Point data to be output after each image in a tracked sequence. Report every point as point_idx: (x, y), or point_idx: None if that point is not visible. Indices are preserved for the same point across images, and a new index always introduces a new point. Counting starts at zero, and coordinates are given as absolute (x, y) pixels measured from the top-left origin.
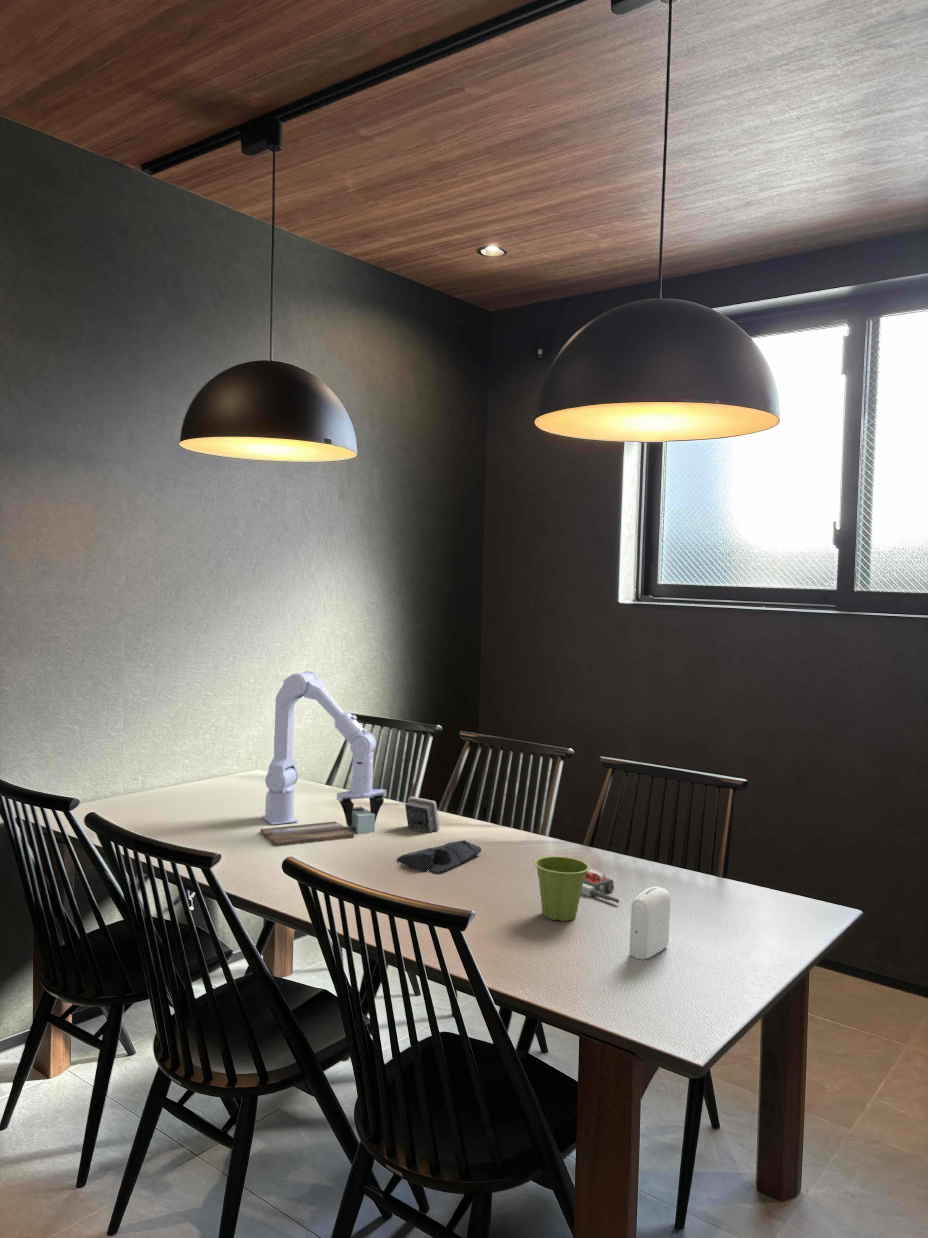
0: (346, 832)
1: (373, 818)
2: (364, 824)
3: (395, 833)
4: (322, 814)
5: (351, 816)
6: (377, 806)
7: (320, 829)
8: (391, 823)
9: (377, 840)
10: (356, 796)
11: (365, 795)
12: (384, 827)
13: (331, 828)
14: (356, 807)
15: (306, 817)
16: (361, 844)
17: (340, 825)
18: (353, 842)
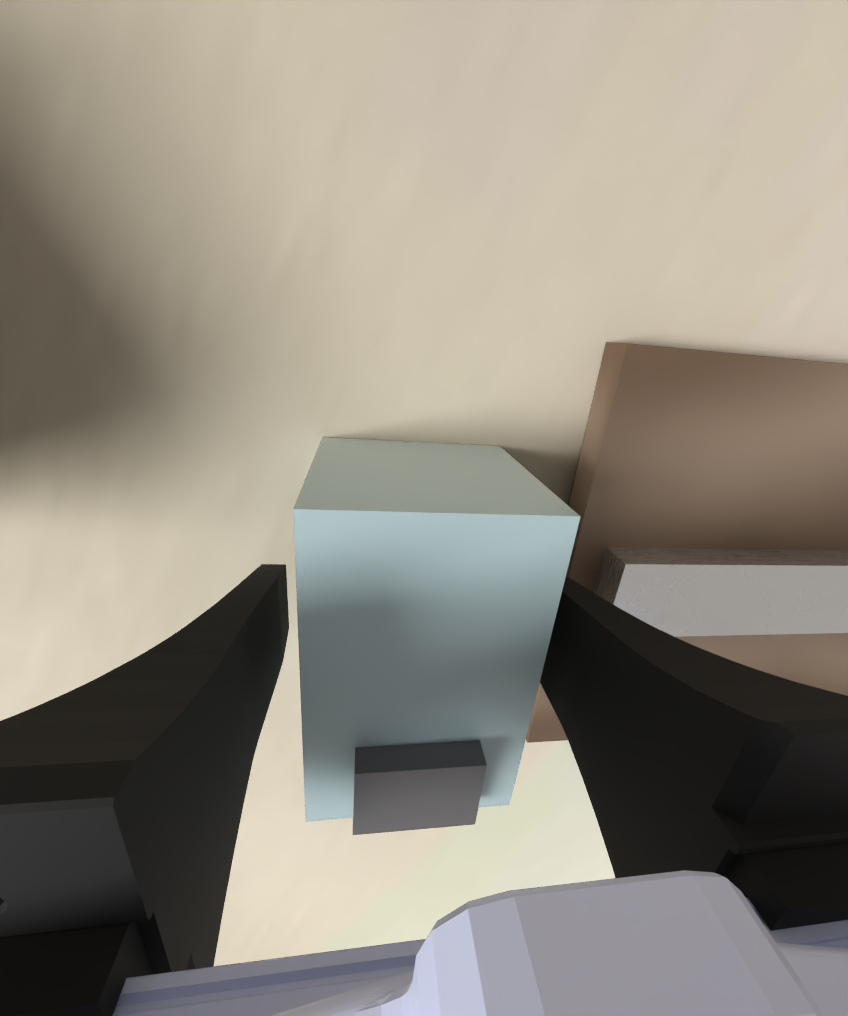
0: (652, 430)
1: (327, 488)
2: (454, 469)
3: (91, 281)
4: (459, 900)
5: (590, 612)
6: (161, 689)
7: (811, 557)
8: (40, 644)
9: (441, 78)
10: (844, 967)
11: (768, 991)
12: (155, 552)
13: (719, 556)
14: (424, 818)
15: (568, 870)
16: (705, 9)
17: (644, 573)
18: (715, 165)
